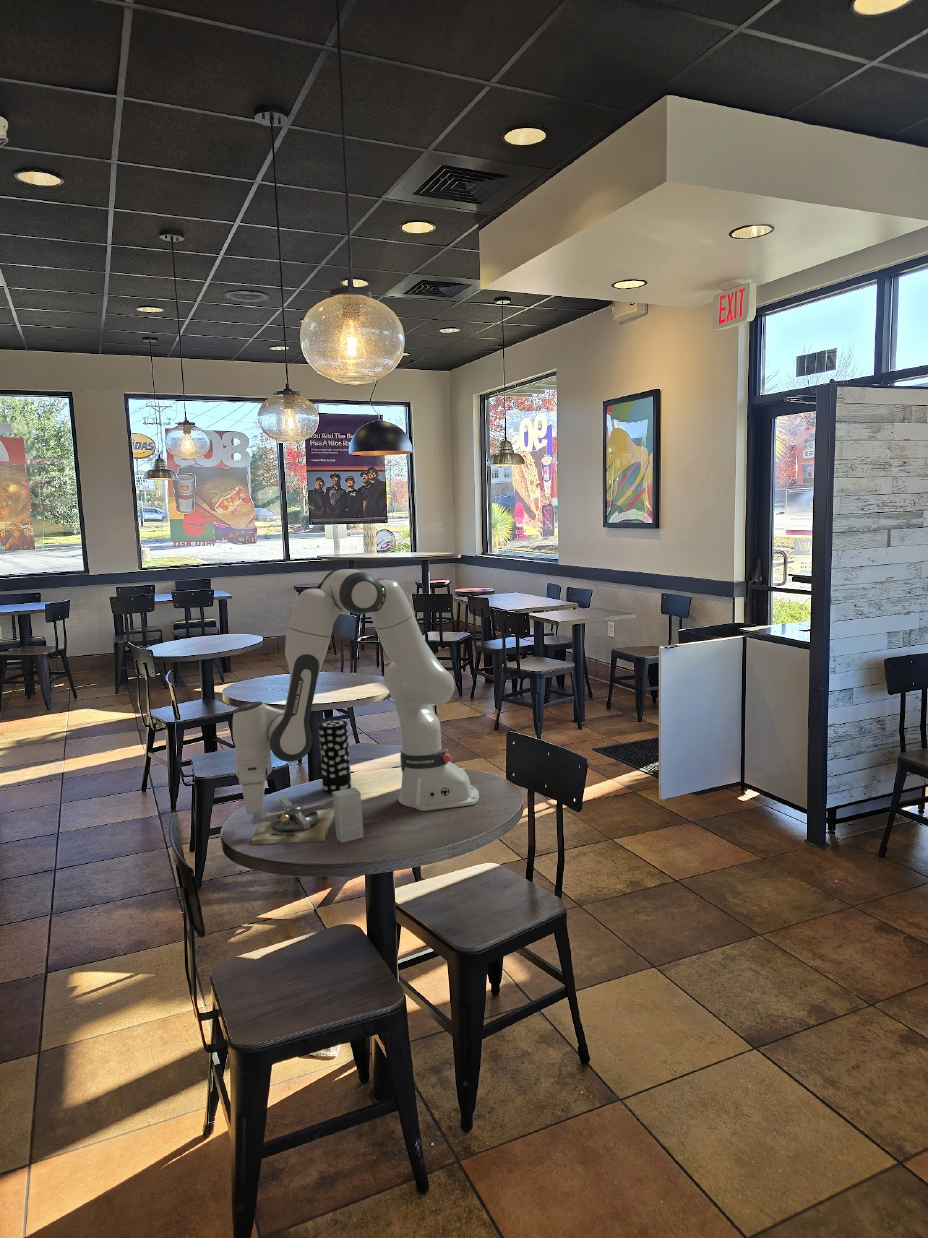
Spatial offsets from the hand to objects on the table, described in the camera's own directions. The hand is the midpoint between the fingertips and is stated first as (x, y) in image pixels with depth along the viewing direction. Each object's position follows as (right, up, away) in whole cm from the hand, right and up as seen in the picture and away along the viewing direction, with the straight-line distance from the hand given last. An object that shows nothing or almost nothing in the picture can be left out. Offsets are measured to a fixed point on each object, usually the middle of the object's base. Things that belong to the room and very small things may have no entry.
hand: (257, 818), depth 204 cm
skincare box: (+24, -4, -5) cm, 25 cm away
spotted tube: (+15, 0, +32) cm, 35 cm away
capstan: (+9, -2, +3) cm, 9 cm away
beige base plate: (+9, -3, +3) cm, 10 cm away
